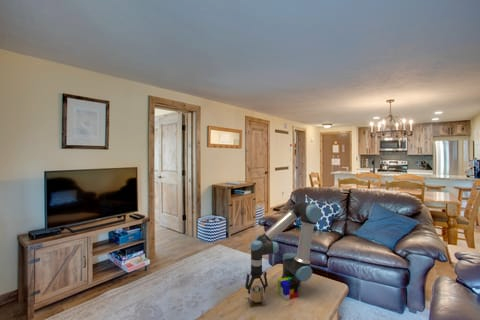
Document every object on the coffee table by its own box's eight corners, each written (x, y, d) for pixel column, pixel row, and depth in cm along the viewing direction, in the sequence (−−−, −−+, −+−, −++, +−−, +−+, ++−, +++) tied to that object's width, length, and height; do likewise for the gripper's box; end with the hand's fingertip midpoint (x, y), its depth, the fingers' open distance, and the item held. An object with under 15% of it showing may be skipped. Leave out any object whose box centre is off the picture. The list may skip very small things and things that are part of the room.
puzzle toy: (285, 300, 171) (285, 286, 170) (277, 292, 180) (277, 279, 180) (297, 297, 174) (297, 283, 174) (289, 289, 184) (289, 276, 183)
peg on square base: (247, 298, 172) (247, 282, 172) (261, 297, 174) (261, 280, 174) (251, 307, 163) (251, 290, 162) (265, 305, 164) (265, 288, 164)
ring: (249, 295, 171) (249, 286, 171) (260, 294, 173) (260, 285, 173) (252, 302, 164) (252, 293, 163) (264, 300, 165) (264, 291, 165)
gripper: (242, 268, 162) (242, 302, 163) (273, 265, 166) (273, 298, 167) (240, 263, 169) (240, 296, 170) (269, 260, 173) (269, 292, 174)
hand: (256, 297), depth 168 cm, fingers closed on ring, 8 cm apart
